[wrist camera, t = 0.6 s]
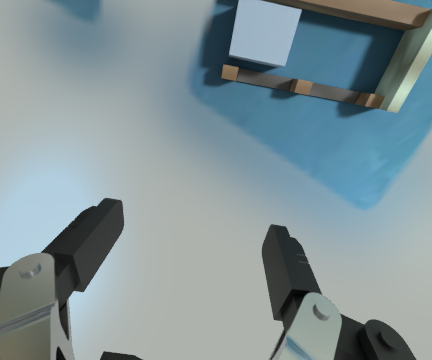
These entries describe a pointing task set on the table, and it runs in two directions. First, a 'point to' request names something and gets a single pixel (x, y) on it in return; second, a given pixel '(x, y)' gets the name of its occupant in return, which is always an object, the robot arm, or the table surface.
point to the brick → (263, 32)
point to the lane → (397, 68)
